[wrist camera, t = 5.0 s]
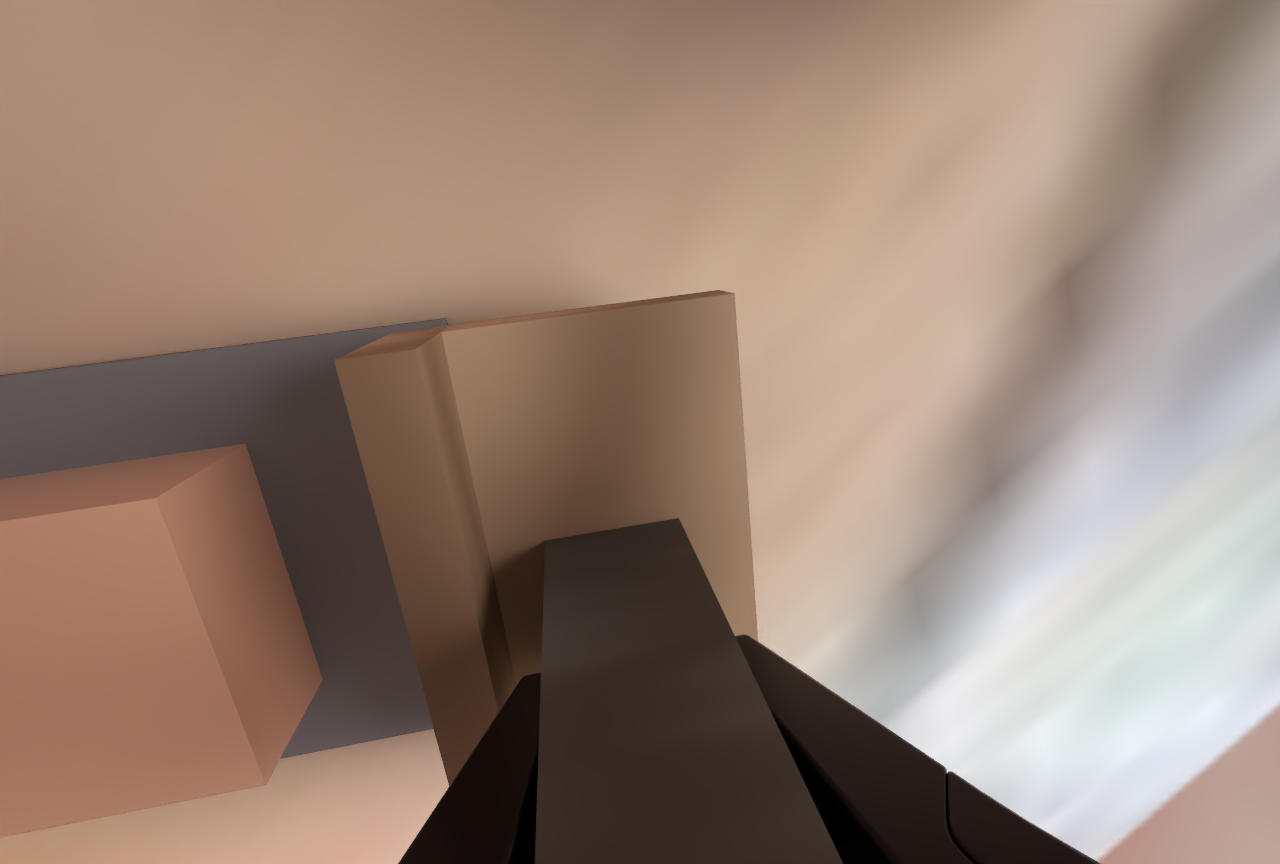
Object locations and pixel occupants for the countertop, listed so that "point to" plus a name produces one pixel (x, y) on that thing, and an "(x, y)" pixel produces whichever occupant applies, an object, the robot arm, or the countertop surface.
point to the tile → (143, 638)
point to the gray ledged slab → (289, 481)
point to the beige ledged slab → (588, 569)
